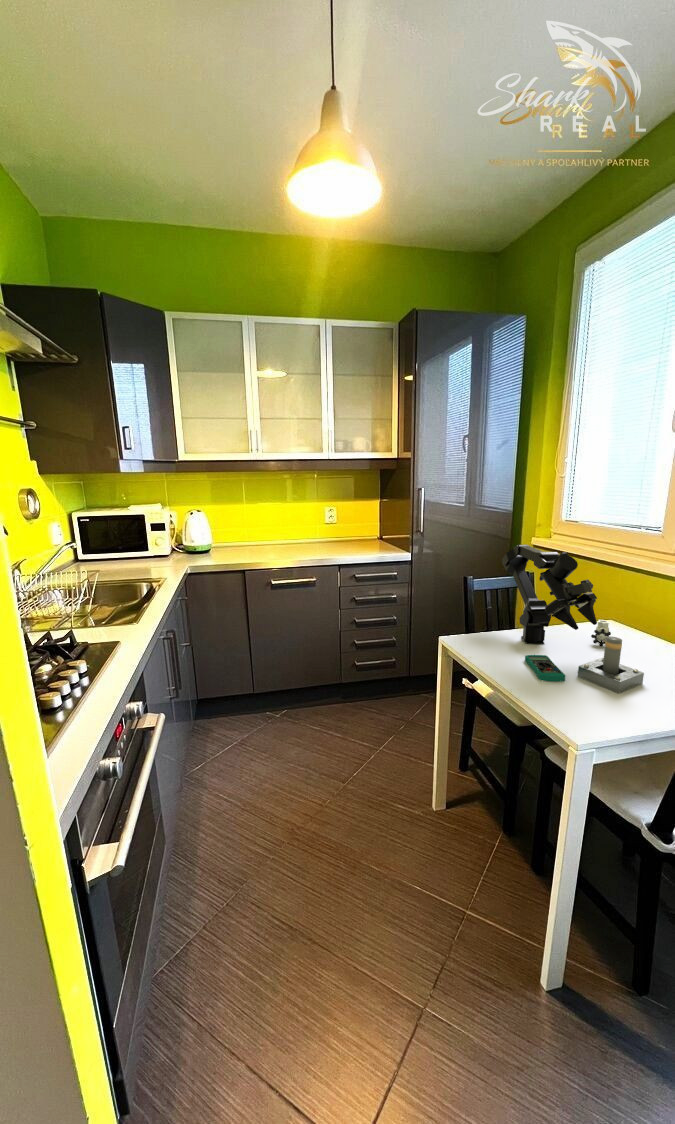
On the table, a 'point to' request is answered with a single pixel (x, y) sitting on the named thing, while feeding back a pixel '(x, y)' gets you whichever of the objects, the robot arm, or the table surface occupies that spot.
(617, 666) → the plug
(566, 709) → the table surface
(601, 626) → the valve
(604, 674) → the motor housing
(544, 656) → the digital multimeter
